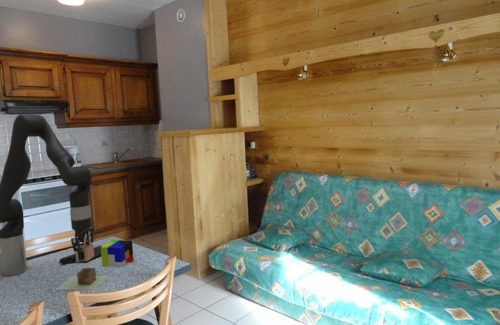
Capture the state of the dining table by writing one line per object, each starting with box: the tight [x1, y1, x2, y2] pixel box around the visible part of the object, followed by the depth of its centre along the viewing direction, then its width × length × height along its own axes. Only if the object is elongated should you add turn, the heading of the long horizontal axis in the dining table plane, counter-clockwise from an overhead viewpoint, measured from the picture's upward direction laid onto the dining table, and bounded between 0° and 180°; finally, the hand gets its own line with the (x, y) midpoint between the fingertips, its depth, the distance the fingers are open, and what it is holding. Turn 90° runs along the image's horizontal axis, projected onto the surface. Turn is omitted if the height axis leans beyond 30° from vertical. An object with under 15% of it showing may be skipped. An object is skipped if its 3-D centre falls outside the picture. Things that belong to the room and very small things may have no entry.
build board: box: [55, 275, 108, 291], centre depth 146 cm, size 16×12×1 cm
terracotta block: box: [74, 243, 95, 262], centre depth 144 cm, size 5×5×5 cm
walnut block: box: [76, 267, 97, 285], centre depth 146 cm, size 5×5×5 cm
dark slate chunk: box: [57, 245, 103, 266], centre depth 177 cm, size 15×22×5 cm
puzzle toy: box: [100, 239, 135, 267], centre depth 166 cm, size 10×10×10 cm
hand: (85, 257), depth 145 cm, fingers closed on terracotta block, 5 cm apart
